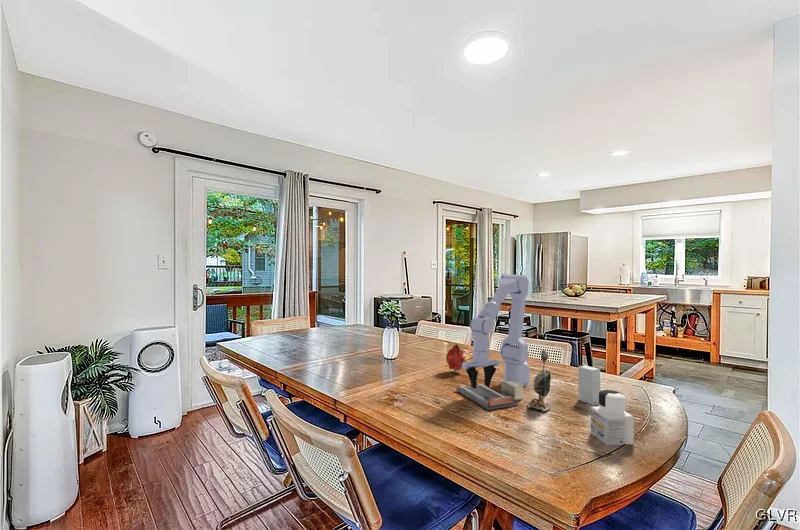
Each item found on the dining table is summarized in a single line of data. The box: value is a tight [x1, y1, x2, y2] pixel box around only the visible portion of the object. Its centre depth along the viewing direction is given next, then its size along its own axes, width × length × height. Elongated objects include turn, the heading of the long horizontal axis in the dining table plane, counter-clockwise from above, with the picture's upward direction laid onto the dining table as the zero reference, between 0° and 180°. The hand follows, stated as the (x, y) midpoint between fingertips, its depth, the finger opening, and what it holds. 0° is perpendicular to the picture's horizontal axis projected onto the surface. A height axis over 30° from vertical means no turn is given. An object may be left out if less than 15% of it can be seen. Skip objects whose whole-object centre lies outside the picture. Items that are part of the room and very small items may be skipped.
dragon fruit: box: [445, 343, 467, 372], centre depth 172 cm, size 8×8×12 cm
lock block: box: [500, 380, 524, 402], centre depth 141 cm, size 4×7×5 cm, turn 27°
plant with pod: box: [526, 349, 552, 412], centre depth 131 cm, size 8×11×20 cm
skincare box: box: [577, 364, 602, 406], centre depth 136 cm, size 6×4×12 cm
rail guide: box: [455, 383, 519, 411], centre depth 139 cm, size 12×21×3 cm, turn 21°
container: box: [590, 389, 635, 446], centre depth 108 cm, size 8×8×13 cm
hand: (480, 386), depth 142 cm, fingers open, 5 cm apart
